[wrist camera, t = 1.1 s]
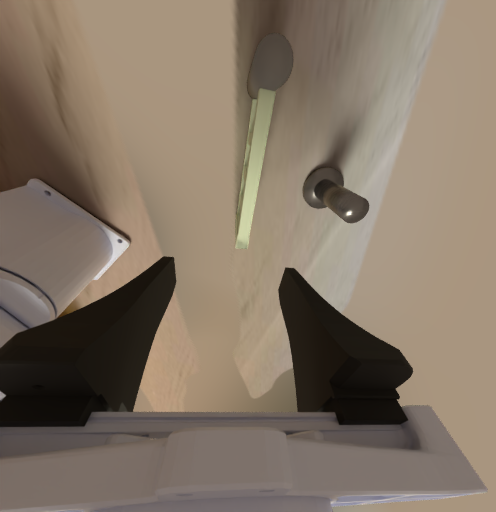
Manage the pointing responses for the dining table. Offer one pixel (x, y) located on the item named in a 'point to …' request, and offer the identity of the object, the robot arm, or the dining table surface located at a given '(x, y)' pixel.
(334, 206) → the post
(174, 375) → the dining table surface
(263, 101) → the gate
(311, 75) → the dining table surface
